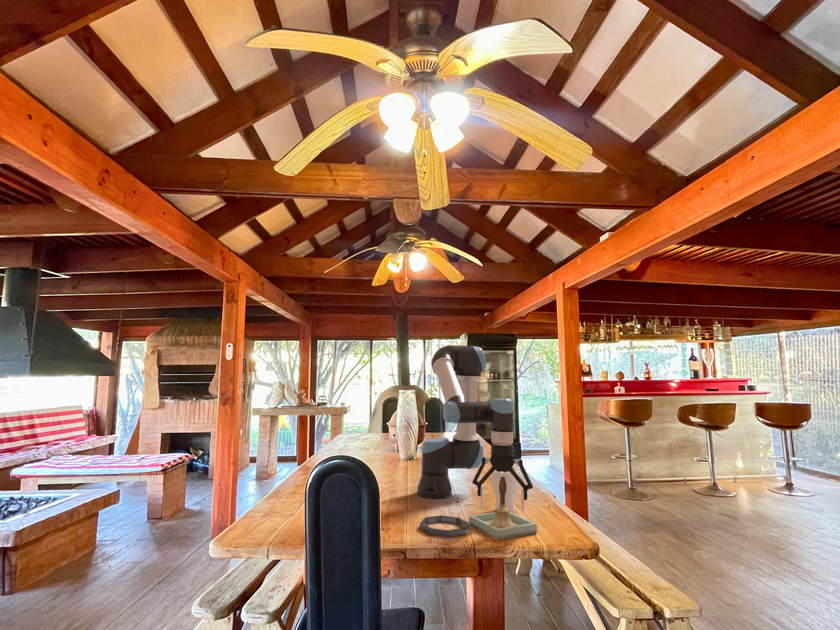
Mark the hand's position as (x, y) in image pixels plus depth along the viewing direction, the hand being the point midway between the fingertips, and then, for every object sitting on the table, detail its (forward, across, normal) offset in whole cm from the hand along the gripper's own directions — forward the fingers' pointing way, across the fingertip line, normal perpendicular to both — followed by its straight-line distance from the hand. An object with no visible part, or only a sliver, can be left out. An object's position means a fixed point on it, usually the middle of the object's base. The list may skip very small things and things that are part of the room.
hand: (502, 508), depth 151 cm
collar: (+7, -19, -5) cm, 21 cm away
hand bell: (+6, 0, 0) cm, 6 cm away
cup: (+7, 0, +21) cm, 22 cm away
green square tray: (+7, 0, 0) cm, 7 cm away
